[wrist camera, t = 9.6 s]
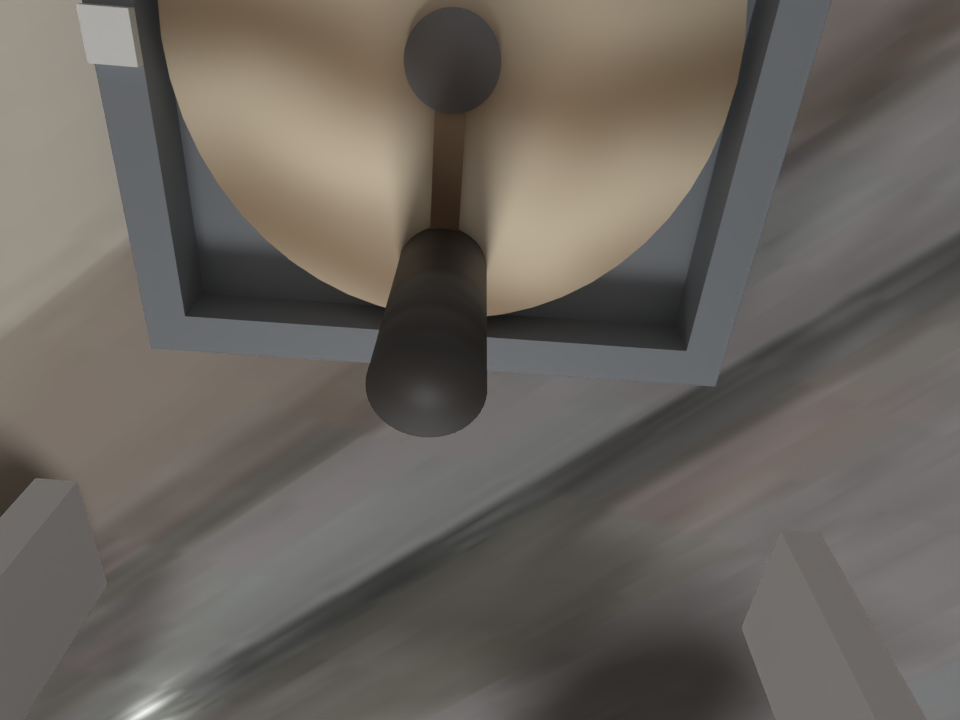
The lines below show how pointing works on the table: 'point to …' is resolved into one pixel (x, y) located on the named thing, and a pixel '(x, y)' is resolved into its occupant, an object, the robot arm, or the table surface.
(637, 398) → the table surface
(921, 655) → the table surface
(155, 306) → the dial frame
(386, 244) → the dial
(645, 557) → the table surface
